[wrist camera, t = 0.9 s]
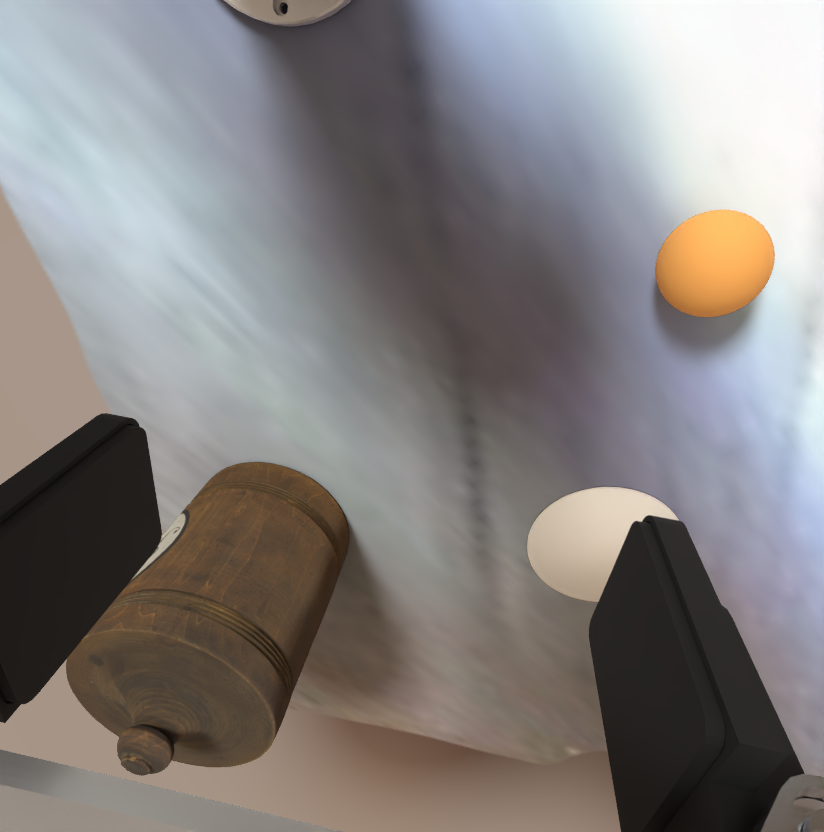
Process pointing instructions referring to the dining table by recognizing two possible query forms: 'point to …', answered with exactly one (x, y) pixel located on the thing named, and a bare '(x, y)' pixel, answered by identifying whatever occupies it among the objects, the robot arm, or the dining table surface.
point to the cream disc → (586, 537)
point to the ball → (715, 263)
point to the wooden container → (215, 623)
